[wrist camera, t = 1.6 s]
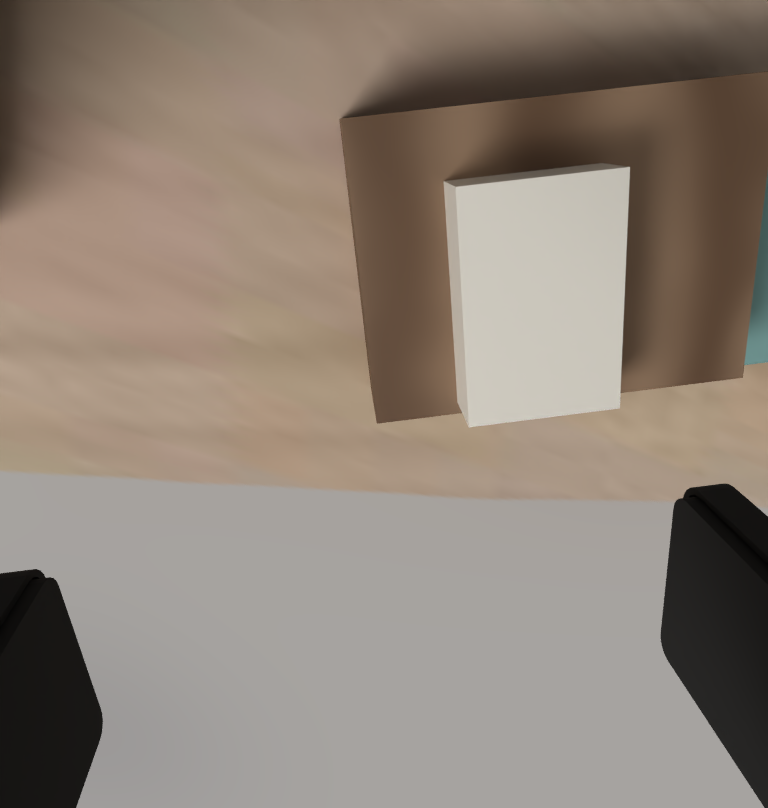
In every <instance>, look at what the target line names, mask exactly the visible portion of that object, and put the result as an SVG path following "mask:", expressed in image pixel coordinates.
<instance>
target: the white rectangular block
mask: <svg viewBox="0 0 768 808" xmlns="http://www.w3.org/2000/svg"><path fill="white" fill-rule="evenodd" d="M629 180H630V167H627V166H620V165H613V164H606V163H598V164H589V165H580V166H571V167H563V168H554V169H545V170H536V171H528V172H519V173H510V174H501V175H492V176H484V177H475V178H466V179H457V180H449V181H444V196H445V212H446V228H447V243H448V259H449V275H450V291H451V307H452V323H453V339H454V355H455V371H456V387H457V403H458V405H459V407H460V409H461V411H462V413H463V415H464V418H465V420H466V422H467V424H468V426H469V427H476V426H484V425H492V424H499V423H507V422H515V421H523V420H531V419H539V418H547V417H555V416H563V415H571V414H579V413H586V412H594V411H602V410H610V409H618V408H620V391H621V368H622V344H623V321H624V297H625V274H626V251H627V227H628V204H629Z"/></svg>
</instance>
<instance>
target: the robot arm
mask: <svg viewBox="0 0 768 808" xmlns="http://www.w3.org/2000/svg"><path fill="white" fill-rule="evenodd" d="M672 520H673V521H672V529H671V539H670V548H669V558H668V569H667V578H666V587H665V597H664V607H663V617H662V627H661V643H662V647H663V651H664V654H665V656H666V658H667V660H668V661H669V663H670V665H671V666H672V668H673V669H674V670H675V672H676V674H677V675H678V677H679V678H680V680H681V681H682V683H683V684H684V686H685V687H686V689H687V690H688V692H689V693H690V695H691V696H692V698H693V699H694V701H695V702H696V704H697V705H698V707H699V709H700V710H701V712H702V713H703V715H704V716H705V718H706V719H707V720H708V722H709V724H710V725H711V727H712V728H713V730H714V731H715V733H716V734H717V736H718V738H719V739H720V741H721V742H722V744H723V745H724V747H725V748H726V750H727V751H728V753H729V754H730V756H731V757H732V759H733V760H734V762H735V763H736V765H737V766H738V768H739V769H740V771H741V772H742V774H743V776H744V777H745V778H746V780H747V781H748V783H749V785H750V786H751V788H752V789H753V791H754V792H755V794H756V795H757V797H758V798H759V800H760V801H761V803H762V804H763V806H764V807H765V808H768V516H766V515H765V514H764V513H763V512H762V511H761V510H760V509H758V508H757V507H756V506H755V505H754V504H753V503H751V502H750V501H749V500H748V499H747V498H746V497H744V496H743V495H742V494H741V493H740V492H739V491H738V490H736V489H735V488H734V487H733V486H731V485H729V484H717V485H709V486H701V487H693V488H689V489H688V490H686V492H685V494H684V497H683V498H682V499H678V500H677V501H676V502H675V504H674V510H673V519H672ZM102 722H103V719H102V712H101V708H100V706H99V703H98V700H97V697H96V694H95V691H94V688H93V685H92V682H91V679H90V676H89V673H88V670H87V667H86V664H85V662H84V659H83V656H82V653H81V650H80V647H79V644H78V641H77V638H76V635H75V632H74V629H73V626H72V624H71V621H70V618H69V615H68V612H67V609H66V606H65V603H64V600H63V597H62V594H61V591H60V588H59V586H58V583H57V581H56V580H55V579H54V578H45V576H44V574H43V573H42V572H41V571H40V570H37V569H33V570H25V571H17V572H9V573H1V574H0V808H76V806H77V803H78V800H79V798H80V795H81V792H82V789H83V786H84V783H85V781H86V778H87V775H88V772H89V769H90V766H91V763H92V761H93V758H94V755H95V752H96V749H97V747H98V744H99V741H100V737H101V734H102V724H103V723H102Z"/></svg>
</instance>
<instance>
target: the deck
mask: <svg viewBox="0 0 768 808" xmlns="http://www.w3.org/2000/svg"><path fill="white" fill-rule="evenodd" d="M340 128H341V136H342V144H343V153H344V161H345V170H346V178H347V187H348V195H349V204H350V212H351V221H352V229H353V238H354V246H355V255H356V263H357V272H358V280H359V289H360V297H361V306H362V314H363V323H364V331H365V340H366V348H367V357H368V365H369V374H370V382H371V390H372V396H373V402H374V408H375V414H376V420H377V423H385V422H393V421H401V420H409V419H417V418H425V417H433V416H441V415H449V414H457V413H462V411H461V409H460V407H459V405H458V403H457V387H456V371H455V355H454V339H453V323H452V307H451V291H450V275H449V259H448V243H447V228H446V212H445V196H444V181H449V180H457V179H466V178H475V177H484V176H492V175H501V174H510V173H519V172H528V171H536V170H545V169H554V168H563V167H571V166H580V165H589V164H598V163H606V164H613V165H620V166H627V167H630V180H629V204H628V227H627V251H626V274H625V297H624V321H623V344H622V368H621V391H620V393H624V392H632V391H640V390H648V389H656V388H664V387H672V386H680V385H688V384H696V383H704V382H712V381H720V380H727V379H735V378H743V372H744V363H745V355H746V347H747V339H748V330H749V322H750V314H751V305H752V297H753V289H754V280H755V272H756V264H757V256H758V247H759V239H760V231H761V222H762V214H763V206H764V198H765V189H766V181H767V173H768V71H767V72H758V73H749V74H740V75H731V76H722V77H713V78H704V79H695V80H686V81H676V82H667V83H658V84H649V85H640V86H631V87H622V88H613V89H604V90H595V91H586V92H577V93H568V94H559V95H550V96H541V97H532V98H523V99H514V100H504V101H495V102H486V103H477V104H468V105H459V106H450V107H441V108H432V109H423V110H414V111H405V112H396V113H387V114H378V115H369V116H360V117H351V118H341V119H340Z"/></svg>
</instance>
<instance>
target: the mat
mask: <svg viewBox="0 0 768 808" xmlns="http://www.w3.org/2000/svg"><path fill="white" fill-rule="evenodd" d="M765 362H768V173H767V181H766V189H765V198H764V206H763V214H762V222H761V231H760V239H759V247H758V256H757V264H756V272H755V280H754V289H753V297H752V305H751V314H750V322H749V330H748V339H747V347H746V355H745V363H744V365H749V364H757V363H765Z"/></svg>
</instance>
